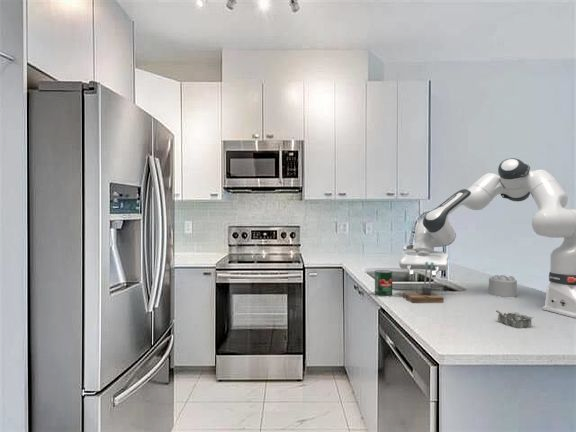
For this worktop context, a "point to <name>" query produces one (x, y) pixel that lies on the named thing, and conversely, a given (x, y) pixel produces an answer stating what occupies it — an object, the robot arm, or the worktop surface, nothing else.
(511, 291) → the lumpy-topped squat cylinder
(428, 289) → the tongs
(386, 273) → the canned tomato
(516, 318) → the egg carton
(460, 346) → the worktop surface
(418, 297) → the board
